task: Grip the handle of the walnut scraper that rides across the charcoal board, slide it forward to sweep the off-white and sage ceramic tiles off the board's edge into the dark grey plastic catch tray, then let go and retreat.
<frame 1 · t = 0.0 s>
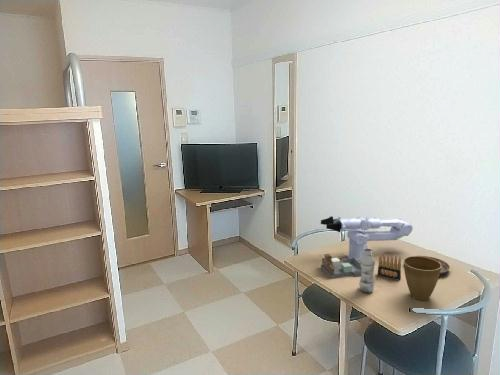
hand: (323, 224, 186), 22 cm above the table, tool horizontal, fingers open, 7 cm apart
sage tile: (346, 270, 176), point 2 cm above the table, touching charcoal board
plastic bottle: (366, 290, 160), on the table
walnut scraper: (328, 261, 177), point 6 cm above the table, slide at 0.0 cm
catch tray: (354, 269, 181), on the table
charcoal board: (336, 271, 179), on the table
ammunition clip: (388, 277, 171), on the table
plant saucer: (426, 269, 178), on the table
off-white tile: (335, 265, 182), point 2 cm above the table, touching charcoal board
plant pot: (419, 296, 154), on the table
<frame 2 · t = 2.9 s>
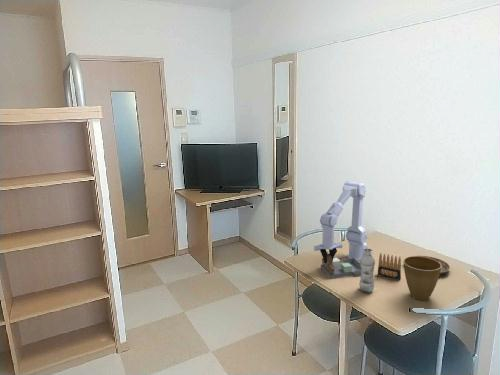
hand: (328, 262, 177), 6 cm above the table, tool pointing down, fingers closed on walnut scraper, 2 cm apart
walnut scraper: (328, 261, 177), point 6 cm above the table, slide at 0.0 cm, touching gripper
everything else where it was.
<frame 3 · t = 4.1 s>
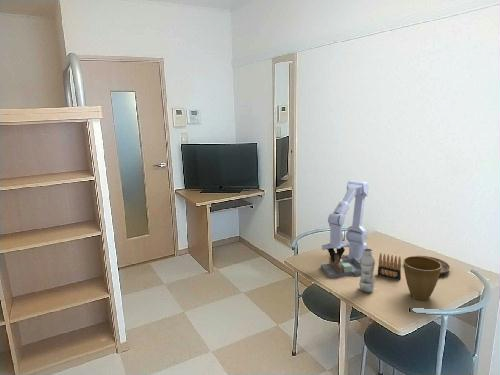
hand: (335, 261, 178), 6 cm above the table, tool pointing down, fingers closed on walnut scraper, 2 cm apart
walnut scraper: (335, 260, 178), point 6 cm above the table, slide at 4.1 cm, touching gripper, off-white tile
off-white tile: (337, 264, 182), point 2 cm above the table, touching charcoal board, walnut scraper
everything else where it was.
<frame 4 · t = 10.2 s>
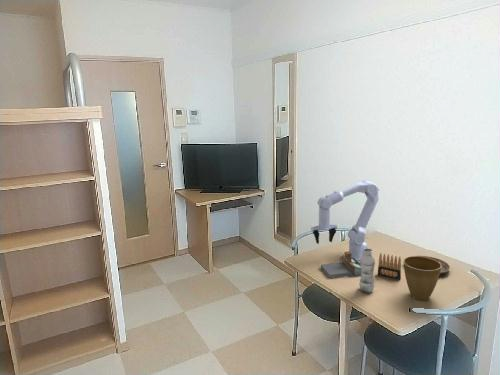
hand: (324, 242, 191), 10 cm above the table, tool pointing down, fingers open, 7 cm apart
sage tile: (354, 270, 177), point 1 cm above the table, tilted 21°, touching catch tray, walnut scraper
walnut scraper: (347, 259, 179), point 6 cm above the table, slide at 10.9 cm, touching sage tile
off-white tile: (348, 265, 184), point 1 cm above the table, tilted 21°, touching catch tray
everything else where it was.
at the end: off-white tile inside the target area on the catch tray (3.7 cm from its centre), point 1.0 cm above the catch tray's base; sage tile inside the target area on the catch tray (3.7 cm from its centre), point 1.0 cm above the catch tray's base; walnut scraper slide at 10.9 cm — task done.
